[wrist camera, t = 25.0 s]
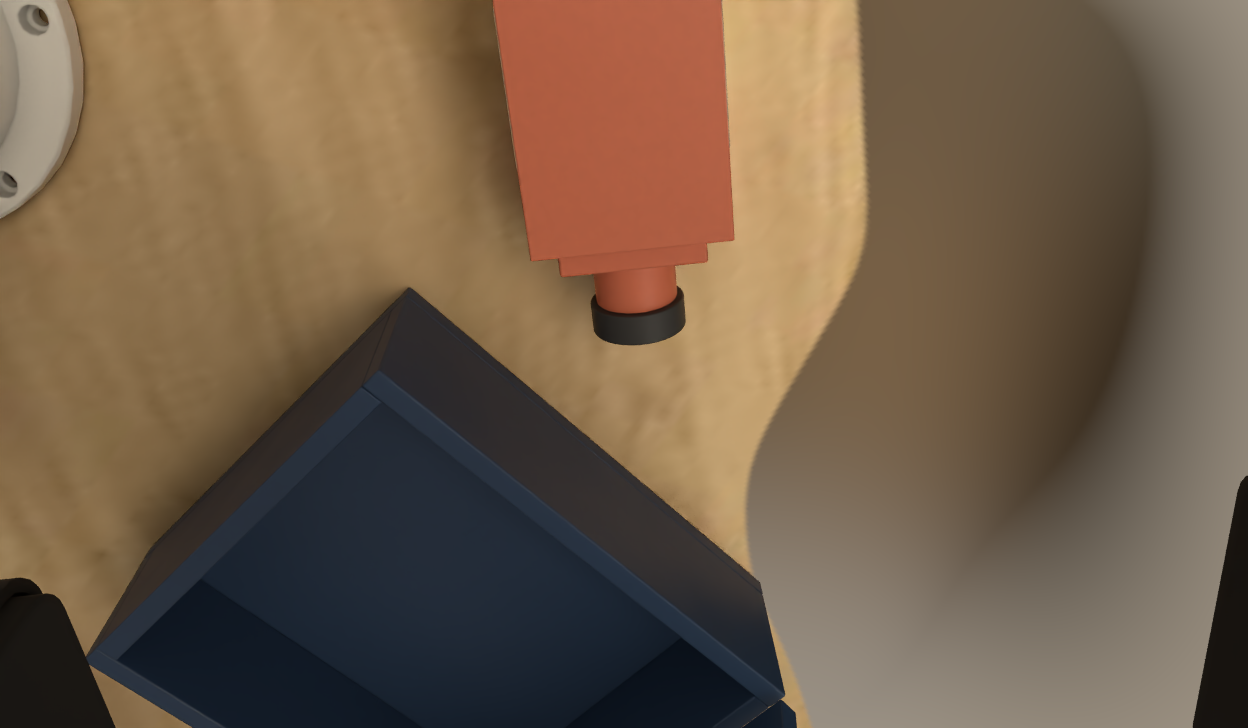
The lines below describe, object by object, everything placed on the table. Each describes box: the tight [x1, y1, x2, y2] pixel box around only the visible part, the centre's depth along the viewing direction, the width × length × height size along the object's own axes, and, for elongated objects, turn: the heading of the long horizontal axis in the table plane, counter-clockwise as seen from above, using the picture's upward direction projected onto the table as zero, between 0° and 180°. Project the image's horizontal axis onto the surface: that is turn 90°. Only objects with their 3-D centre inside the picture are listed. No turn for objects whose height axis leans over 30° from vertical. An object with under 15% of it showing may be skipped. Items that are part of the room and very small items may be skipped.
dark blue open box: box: [86, 288, 785, 728], centre depth 40 cm, size 19×16×6 cm
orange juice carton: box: [492, 0, 734, 345], centre depth 32 cm, size 13×6×6 cm, turn 6°
